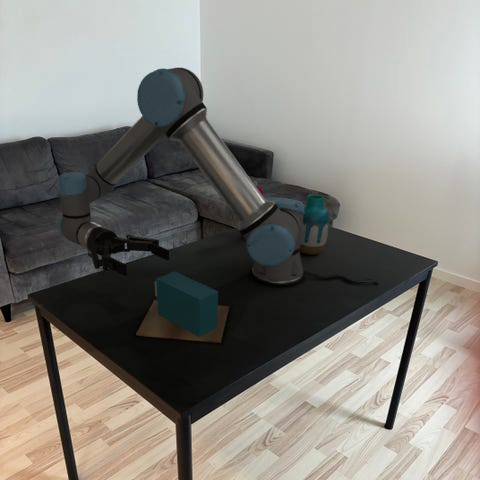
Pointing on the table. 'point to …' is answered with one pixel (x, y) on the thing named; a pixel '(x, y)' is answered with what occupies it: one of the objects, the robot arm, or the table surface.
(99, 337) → the table surface
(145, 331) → the cork mat
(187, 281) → the teal box
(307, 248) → the vase
